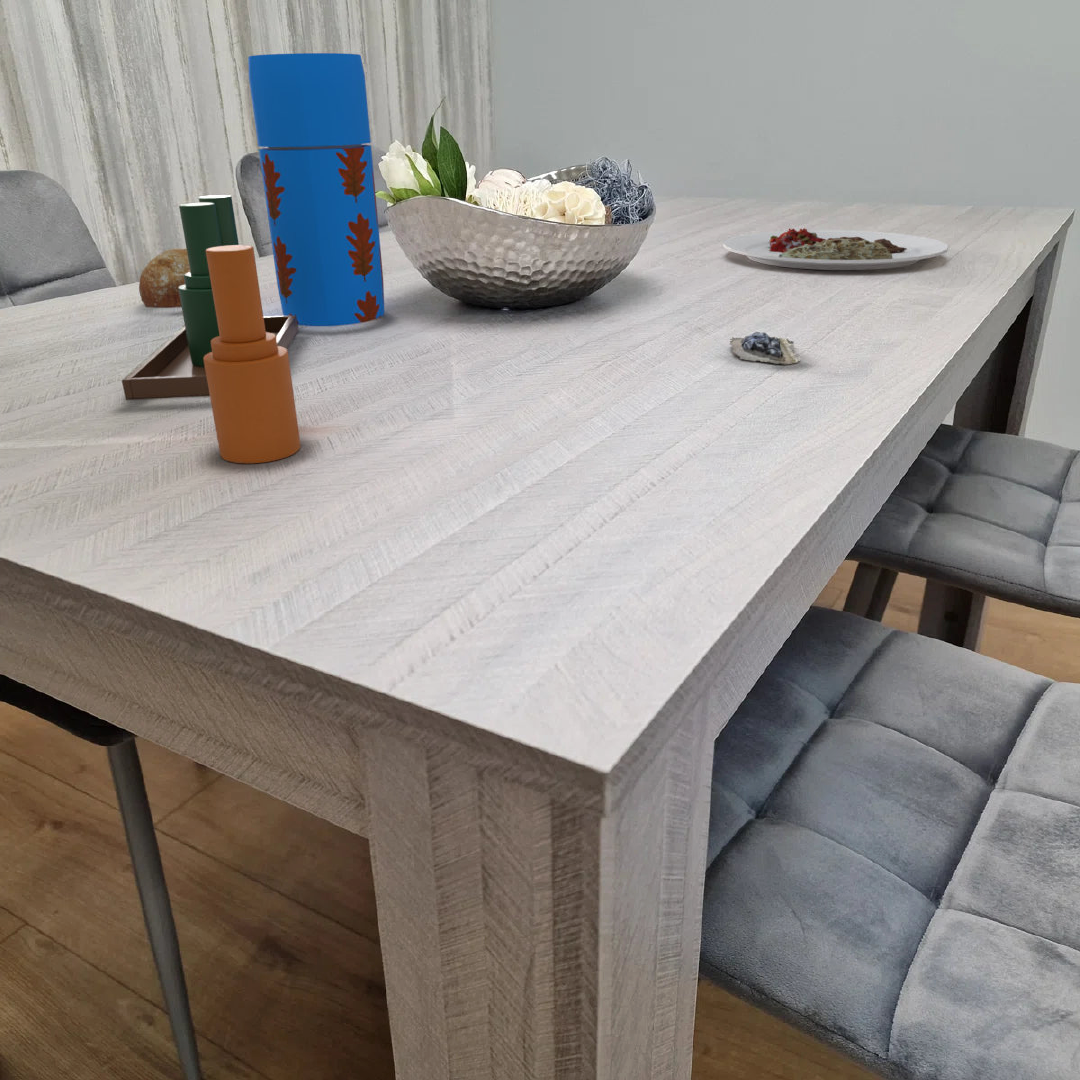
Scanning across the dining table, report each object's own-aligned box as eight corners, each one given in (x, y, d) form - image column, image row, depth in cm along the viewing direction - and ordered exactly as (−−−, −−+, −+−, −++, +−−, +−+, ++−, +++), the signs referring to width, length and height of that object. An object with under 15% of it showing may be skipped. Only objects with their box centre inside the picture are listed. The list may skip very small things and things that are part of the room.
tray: (127, 406, 72) (121, 380, 71) (194, 340, 92) (190, 319, 91) (261, 400, 73) (257, 374, 72) (299, 336, 93) (296, 315, 92)
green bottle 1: (203, 349, 86) (177, 200, 81) (215, 337, 91) (191, 194, 85) (261, 347, 87) (239, 198, 81) (270, 334, 91) (250, 193, 86)
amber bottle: (212, 465, 60) (174, 256, 54) (228, 439, 65) (195, 243, 59) (295, 461, 60) (266, 252, 55) (305, 435, 65) (279, 240, 60)
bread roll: (174, 326, 115) (132, 267, 112) (246, 286, 115) (207, 225, 111) (159, 344, 106) (114, 281, 103) (237, 301, 106) (194, 235, 102)
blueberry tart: (778, 340, 87) (780, 320, 87) (826, 360, 80) (829, 338, 80) (712, 347, 86) (714, 326, 85) (756, 368, 79) (758, 345, 78)
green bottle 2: (185, 369, 80) (155, 208, 74) (199, 354, 85) (172, 202, 79) (247, 366, 80) (222, 206, 75) (258, 351, 85) (235, 200, 79)
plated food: (924, 282, 113) (928, 253, 111) (690, 266, 127) (692, 240, 125) (961, 248, 136) (965, 224, 135) (760, 238, 150) (762, 216, 149)
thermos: (263, 321, 100) (225, 58, 89) (347, 306, 106) (321, 59, 96) (321, 336, 93) (286, 52, 82) (407, 318, 99) (385, 54, 89)
